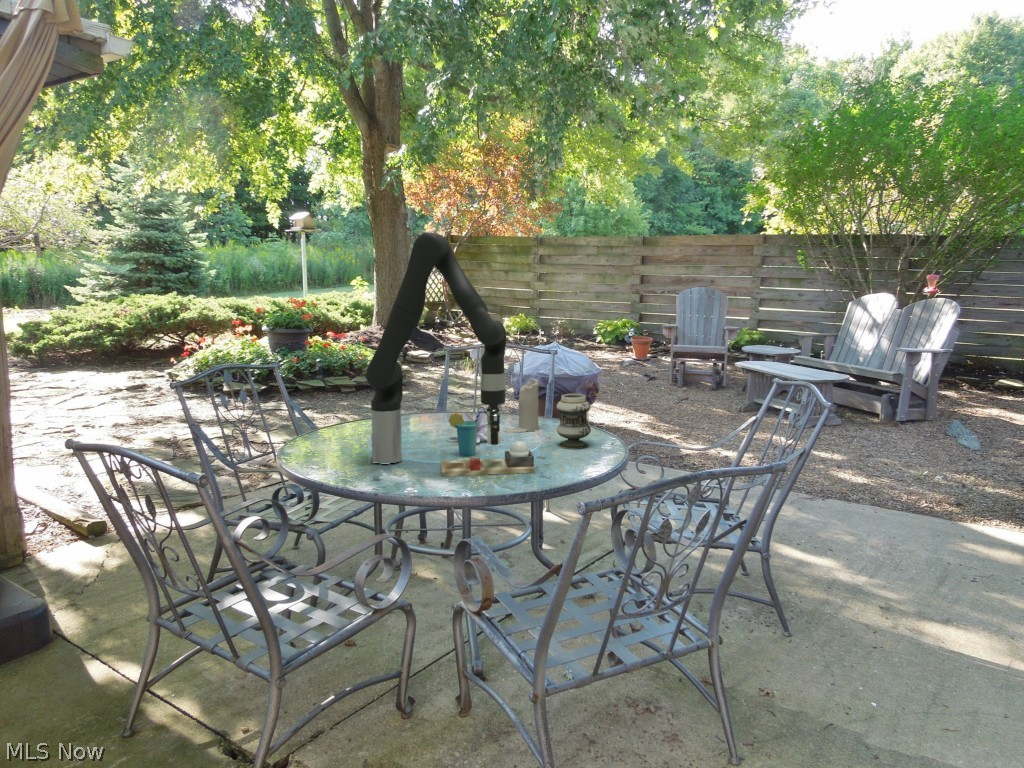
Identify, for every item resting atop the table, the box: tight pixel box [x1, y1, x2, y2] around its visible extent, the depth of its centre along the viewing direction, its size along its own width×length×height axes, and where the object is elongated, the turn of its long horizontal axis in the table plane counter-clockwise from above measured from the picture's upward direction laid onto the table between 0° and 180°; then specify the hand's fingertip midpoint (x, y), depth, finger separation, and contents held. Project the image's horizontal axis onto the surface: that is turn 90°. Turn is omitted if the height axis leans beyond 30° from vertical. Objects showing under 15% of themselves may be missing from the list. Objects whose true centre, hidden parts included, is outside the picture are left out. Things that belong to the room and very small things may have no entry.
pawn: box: [486, 421, 501, 445], centre depth 204 cm, size 4×4×8 cm
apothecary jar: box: [556, 393, 592, 450], centre depth 233 cm, size 12×12×18 cm
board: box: [440, 449, 536, 477], centre depth 205 cm, size 28×12×5 cm, turn 97°
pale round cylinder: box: [508, 440, 530, 457], centre depth 206 cm, size 6×6×6 cm
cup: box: [448, 409, 487, 457], centre depth 222 cm, size 14×8×15 cm, turn 99°
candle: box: [502, 377, 540, 433], centre depth 256 cm, size 7×14×20 cm, turn 107°
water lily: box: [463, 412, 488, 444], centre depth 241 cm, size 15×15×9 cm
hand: (493, 442), depth 204 cm, fingers closed on pawn, 4 cm apart
